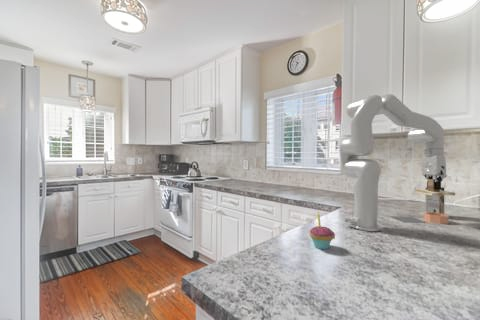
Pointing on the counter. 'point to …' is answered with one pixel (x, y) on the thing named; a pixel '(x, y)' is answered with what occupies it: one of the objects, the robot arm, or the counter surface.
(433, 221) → the bowl
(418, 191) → the lid
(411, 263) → the counter surface
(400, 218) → the mat
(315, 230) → the cupcake
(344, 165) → the robot arm
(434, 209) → the coffee box
